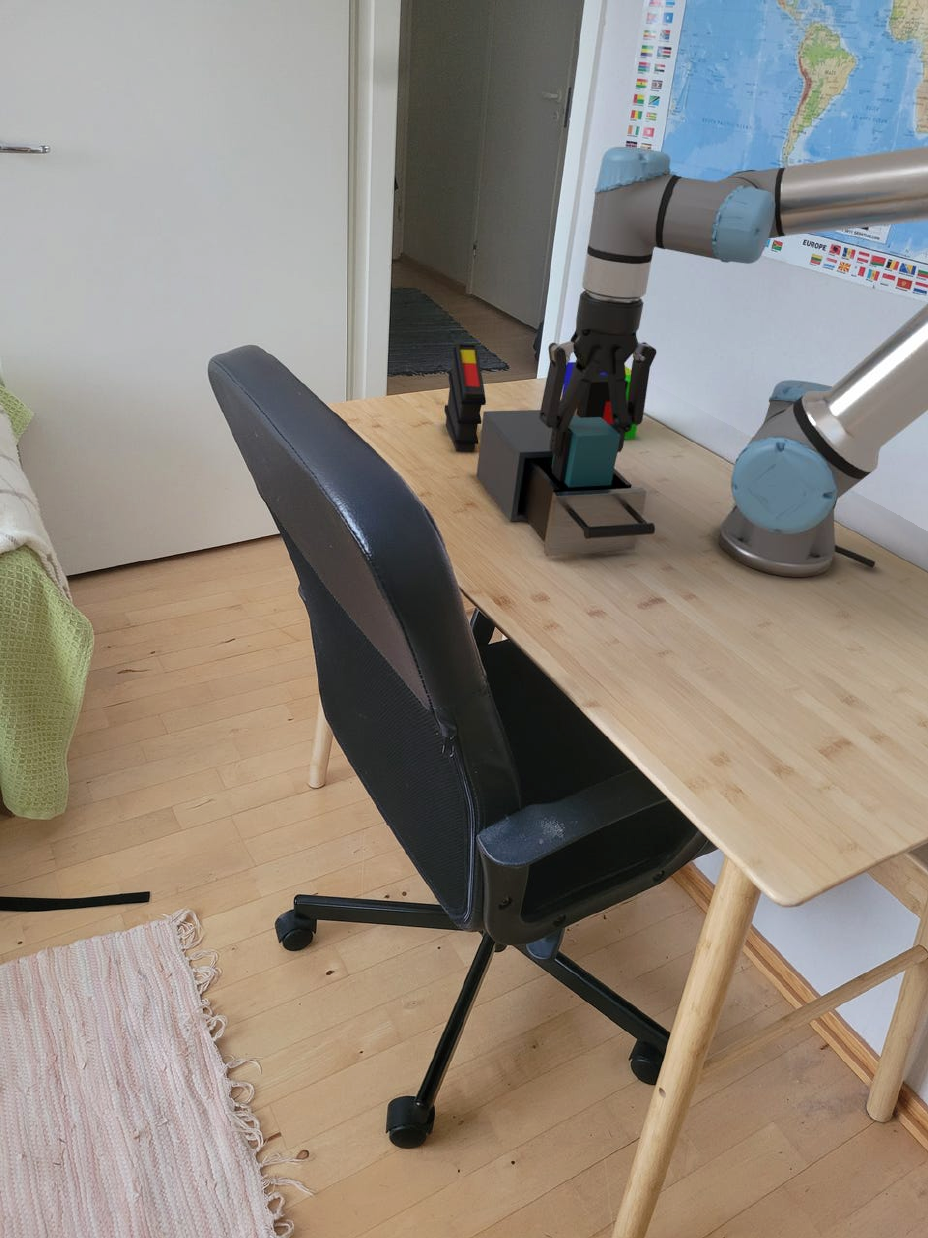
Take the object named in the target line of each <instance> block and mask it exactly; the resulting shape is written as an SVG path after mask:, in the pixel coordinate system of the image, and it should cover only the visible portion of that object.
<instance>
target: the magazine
mask: <svg viewBox="0 0 928 1238" xmlns="http://www.w3.org/2000/svg"><path fill="white" fill-rule="evenodd" d="M452 348H453V349H452V353H453V363H452V370H451V371H452V372H449V373H448V377H447V378H448V383H449V391H448V399H447V404H445V405H444V411H443V412H444V414H445V417H446V418H445V427H446V430H447V433H448V435H449V438H450V439H451V442H452V444H453V447H454V449H455V451H456V452H462V453H463V452H465V453H467V452H468V453H474V452H475V451H476V445H479V443H480V442H479V441H480V440H479V437H478V434H477V433H478V426H479V425H482V422H483V420H482V417H481V409H482V406H486V404H487V399H486V391H485V386H484V380H483V374H482V367H481V362H480V357H479V356H480V355H479V350H478V345H477V344H476V343H467V342H458V343H457V345H456V346H454V347H452Z"/></svg>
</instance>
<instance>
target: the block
mask: <svg viewBox="0 0 928 1238" xmlns="http://www.w3.org/2000/svg"><path fill="white" fill-rule="evenodd" d="M568 429H569V430H570V431H571V432H572V438H571V444H570V451H569V457H568V463H567V469H566V475H565V481H563V482H564V483H565V484H566V485H567V486H568V487H569V488H571V487H589V486H608V485H611V483H612V477H613V472H614V468H615V467H616V462H617V456H618V453H619V452H618V446H619V441H620V436H621V435H620V434H619V433H618V432H617V431H616V430H615V429H614V428H613V427H611V426H610V425H609V424H608V423H607V422H606V421H605V420H603V419H602V418H601V417H589V418H572V420H571V422H570V425H569V427H568ZM553 460H554V454H553ZM552 466H553V461H552ZM551 468H552V467H551Z"/></svg>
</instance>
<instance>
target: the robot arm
mask: <svg viewBox="0 0 928 1238" xmlns="http://www.w3.org/2000/svg"><path fill="white" fill-rule="evenodd" d="M670 164H671V158H670V155H668V153H666V152H663V151H660V150H654V149H651V148H643V147H634V146H614V147H611V148H609V149H607V150H606V151H605V153H604V154H603V156H602V159H601V164H600V168H599V173H598V178H597V182H596V187H595V189H594V201H593V205H592V206H593V207H592V215H591V220H590V222H591V223H590V230H589V237H588V244H587V249H586V254H585V255H586V256H585V261H584V267H583V275H582V281H581V287H582V289H584V290H583V291H582V292H581V293H580V294H579V299H578V307H577V312H576V318H575V331H574V333H573V335H572V336H571V338H570V340H569V341H567V342H564V343H559V344H558V343H557V342H551V343H549V345H548V356H549V366H548V370H547V371H548V372H547V376H546V379H545V380H546V381H545V386H544V391H543V396H542V399H541V405H540V409H539V410H540V415H539V418H540V420H541V421H542V422H543V423H544V424H545V425H546V426H547V427H549V428H552V434H551V440H550V451H551V452H552V453H553V454H554V460H553V466H552V473H553V474H554V476H555V477H556V478H557V479H558V480H559V481H565V475H566V469H567V463H568V457H569V451H570V444H571V438H572V432H571V431H570V430H569V429H568V427H569V425H570V422H571V420H572V418H573V416H574V414H575V411H576V409H577V407H578V405H579V403H580V400H581V398H582V396H583V394H584V392H585V389H586V387H587V385H588V383H589V382H591V381H592V379H593V377H594V375H595V374H599V373H606V374H607V377H608V386H609V395H610V404H611V412H612V421H613V422H614V423H613V424H611V423H608V424H609V425H610V426H611V427H613V428H614V429H615V430H616V431H617V432H618V433H619V434H620V435H621V436H620V441H619V446H618V452H617V453H621V452H622V450H623V448H624V443H625V439H624V438H625V433H626V432H629V431H630V430H631V428H632V426H631V425H633V424H636V425H637V426H639V425H641V424H642V422H643V419H644V413H645V405H646V399H647V398H646V397H647V392H648V385H649V378H650V377H649V376H650V371H651V370H650V369H651V366H652V364H653V362H654V360H655V357H656V355H657V349H656V348H655V347H654V346H652V345H650V344H649V343H647V342H645V341H643V342H640V341H639V339H638V337H637V332H638V330H639V328H640V325H641V319H642V314H643V308H644V301H643V299H642V297H644V296H645V295H646V294H647V288H648V282H649V277H650V270H651V265H652V260H653V254H654V250H655V248H657V249H661V250H668V251H674V252H677V253H678V252H679V253H683V254H689V255H693V256H699V257H703V258H709V259H714V260H718V261H720V262H721V263H738V264H746V265H748V264H754V263H756V262H757V261H758V260H759V259H760V258H761V256H762V255H763V252H764V251H765V249H766V246H767V243H768V241H769V239H775V238H781V237H787V236H796V235H797V236H798V235H807V234H815V233H825V232H833V231H834V232H835V231H843V230H845V231H846V230H853V229H862V228H864V229H865V228H872V227H883V226H892V225H900V224H902V225H903V224H910V223H919V222H921V223H922V222H928V145H927V146H926V145H925V146H920V147H914V148H907V149H899V150H892V151H885V152H878V153H870V154H864V155H863V154H862V155H858V156H857V155H856V156H851V157H850V156H849V157H843V158H837V159H830V160H829V159H828V160H822V161H815V162H809V163H803V164H795V165H788V166H785V167H775V168H774V167H773V168H767V169H760V170H757V169H746V170H740V171H736V172H733V173H732V174H730V175H728V176H726V177H725V178H721V179H719V180H716V181H715V180H714V181H713V180H705V179H698V178H691V177H683V176H682V175H681V176H680V175H677V174H673V173H671V168H670V166H671V165H670ZM572 354H574V356H575V358H576V360H575V361H574V362H575V364H574V366H573V369H572V376H571V378H570V380H569V383H568V385H567V387H566V389H565V392H564V394H563V396H562V393H563V386H564V380H565V375H566V370H567V362H571V355H572ZM631 356H632V358H633V360H632V363H631V369H630V370H631V377H630V385H629V392H628V400H627V399H626V389H625V379H626V373H625V366H626V364H625V363H626V362H627V361H628V360H629V359H630V358H631ZM584 370H585V371H584ZM768 403H769V404H768V407H767V411H766V414H765V418H764V420H763V423H762V424H761V426H760V427H759V428H758V430H757V431H756V433H755V434H754V435H753V437H752V438H751V439H750V441H749V442H748V444H747V445H746V447H744V448H743V449H742V450H741V452H740V453H739V454H738V457H737V458H735V459H736V460H735V462H734V465H733V470H732V473H731V478H730V488H731V493H732V494H731V495H732V498H733V501H734V503H733V504H732V506H731V510H730V511H729V512H728V514H727V515H726V517H725V518H724V520H723V521H722V522H721V526H720V529H719V534H718V544H719V545H720V547H721V549H722V550H723V551H724V552H725V553H726V554H728V555H729V556H730V557H731V558H733V559H734V560H736V561H738V562H739V563H741V564H743V565H745V566H747V567H749V568H752V569H755V570H758V571H761V572H764V573H767V574H771V575H775V576H780V577H781V576H783V577H791V578H807V577H813V576H817V575H820V574H823V573H825V572H827V571H828V570H829V569H830V568H831V564H832V562H833V559H834V556H835V553H836V554H838V555H841V556H844V557H846V558H848V559H851V560H853V561H856V562H858V563H861V564H863V565H865V566H868V567H870V568H874V566H875V565H876V561H875V560H873V559H870V558H868V557H865V556H863V555H861V554H859V553H856V552H854V551H851V550H848V549H847V548H844V547H841V546H839V545H837V544H836V543H835V541H836V540H835V539H836V538H835V509H836V505H837V502H838V499H839V498H840V497H842V496H843V495H845V494H846V493H847V492H848V491H849V490H851V489H853V488H854V487H855V486H856V485H857V484H858V483H860V482H862V480H864V479H865V478H866V477H867V476H869V475H870V474H872V472H874V471H875V470H876V469H877V468H878V466H879V457H880V456H879V455H880V450H881V448H882V447H884V446H885V445H886V444H888V442H890V441H891V440H892V439H893V438H895V437H896V436H897V435H898V434H900V433H901V432H902V431H904V430H905V429H906V428H907V427H909V426H910V425H911V424H912V423H914V422H915V421H916V420H917V419H918V418H920V417H921V416H922V415H924V414H925V413H926V412H927V411H928V303H926V304H925V305H924V306H923V307H922V308H920V310H918V311H917V312H916V313H915V314H914V315H912V316H911V317H910V318H909V319H908V320H907V321H906V322H904V323H903V324H902V325H901V326H900V327H898V329H897V330H895V331H894V332H893V333H892V334H891V335H890V336H889V337H888V338H886V339H885V340H884V341H883V342H882V343H881V344H879V346H878V347H877V346H876V348H874V350H873V351H872V352H871V353H869V354H868V355H867V356H866V357H865V358H863V360H861V361H860V362H859V363H858V364H857V365H856V366H854V367H853V368H852V369H851V370H850V371H848V373H847V374H845V375H844V376H843V377H842V378H841V379H840V380H838V381H837V382H836V383H835V384H834V385H833V386H831V385H826V384H822V383H819V382H818V383H816V382H811V381H804V380H795V379H793V380H791V379H789V380H782V381H780V382H778V383H777V384H776V385H775V386H774V388H773V391H772V393H771V396H769V398H768Z"/></svg>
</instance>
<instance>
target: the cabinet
mask: <svg viewBox="0 0 928 1238" xmlns="http://www.w3.org/2000/svg"><path fill="white" fill-rule="evenodd" d="M540 410H541V409H529V410H528V409H526V410H520V409H519V410H488V411H487V410H484V411H483V412H482V413H483V414H482V422H481V433H480V440H479V441H480V442H479V450H478V458H477V467H476V478H477V480H478V481H479V483H481V486H483V488H484V489H485V491H486V492H487V493H488V495H489V496H490V497H491V498H492V499H493V501H494V502H495V504H496V505H497V506H498V507H499V509H500V510H501V512H502V513H503V514H504V516H505V517H506V518H507V520H508V521H509V522H510V523H515V522H516V523H517V522H528V521H527V520H526V518H525V517H524V516H523V515H522V513H521V512H520V511H519V510H518V505H519V498H520V491H521V484H522V476H523V469H524V462H525V458H541V457H553V453H552V452H551V451H550V440H551V434H552V428H549V427H547V426H546V425H545V424H544V423H543V422H542V421H541V420H540V418H539V415H540ZM573 418H580V417H579V416H578V415H577V414H574V416H573Z"/></svg>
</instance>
